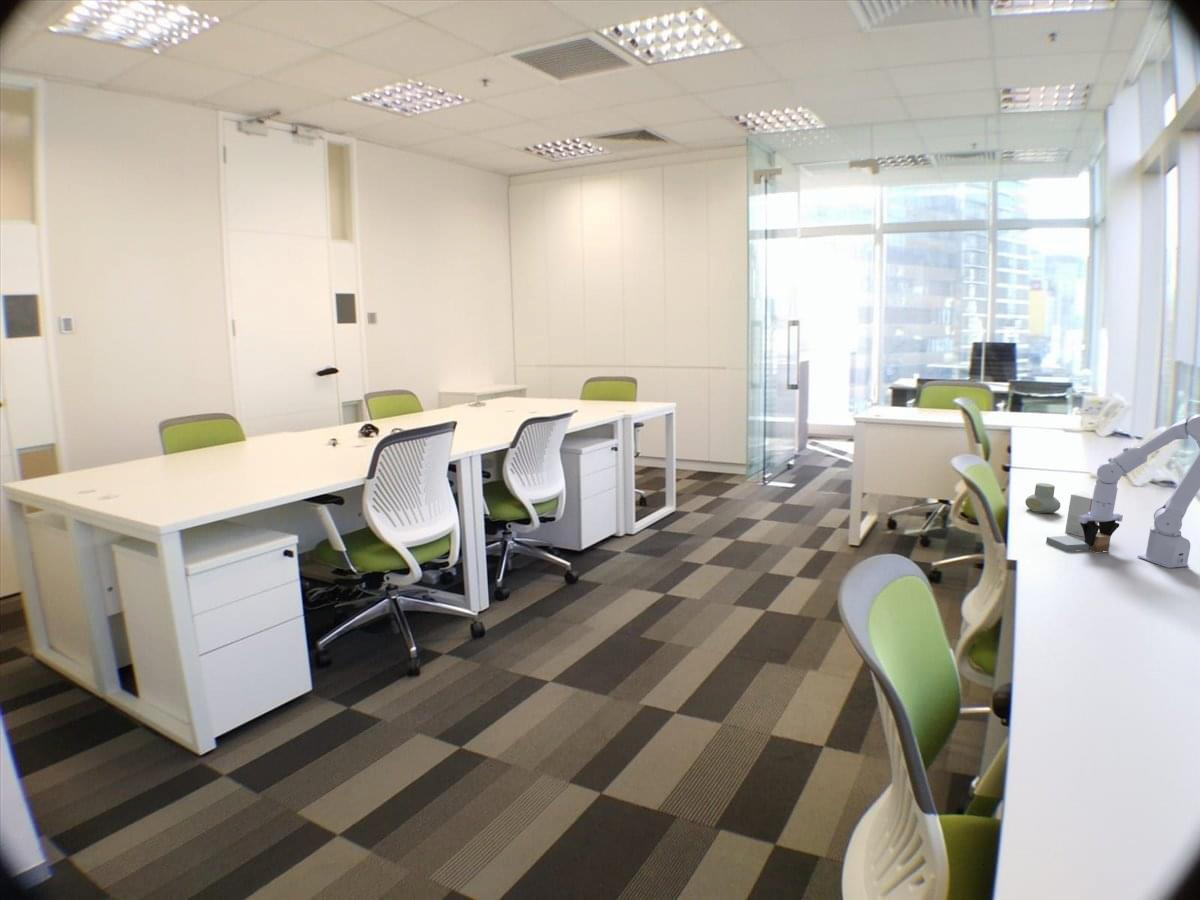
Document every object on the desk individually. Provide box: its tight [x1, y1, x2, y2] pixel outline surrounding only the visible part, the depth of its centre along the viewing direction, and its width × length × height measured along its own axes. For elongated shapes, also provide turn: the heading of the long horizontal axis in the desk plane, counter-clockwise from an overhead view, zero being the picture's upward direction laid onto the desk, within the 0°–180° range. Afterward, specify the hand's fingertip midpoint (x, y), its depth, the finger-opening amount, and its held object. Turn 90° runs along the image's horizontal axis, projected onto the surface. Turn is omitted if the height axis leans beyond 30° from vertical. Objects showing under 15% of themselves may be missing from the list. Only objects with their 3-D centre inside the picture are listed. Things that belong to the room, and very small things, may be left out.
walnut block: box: [1083, 531, 1112, 553], centre depth 223 cm, size 4×4×5 cm
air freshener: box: [1025, 482, 1061, 514], centre depth 264 cm, size 11×8×10 cm
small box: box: [1064, 491, 1099, 538], centre depth 239 cm, size 8×6×13 cm
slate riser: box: [1045, 535, 1090, 552], centre depth 226 cm, size 8×8×3 cm
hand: (1095, 544), depth 223 cm, fingers open, 5 cm apart
